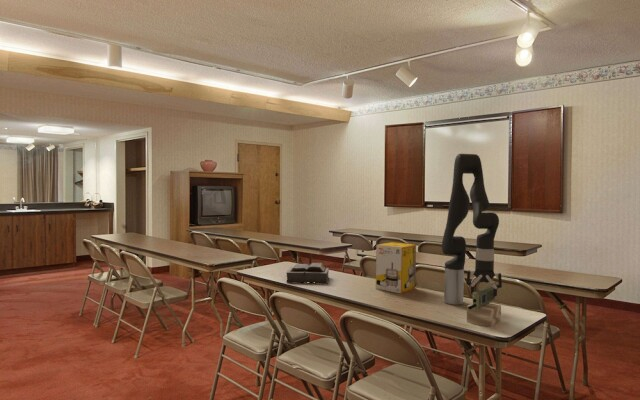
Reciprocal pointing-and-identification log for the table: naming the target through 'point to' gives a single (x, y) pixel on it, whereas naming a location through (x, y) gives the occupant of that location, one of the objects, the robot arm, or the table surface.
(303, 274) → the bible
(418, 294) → the table surface
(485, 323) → the birch block
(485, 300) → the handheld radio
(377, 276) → the packaging box
